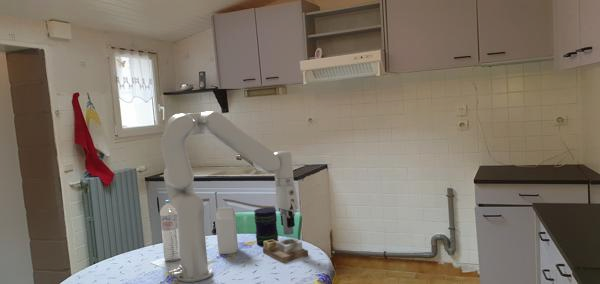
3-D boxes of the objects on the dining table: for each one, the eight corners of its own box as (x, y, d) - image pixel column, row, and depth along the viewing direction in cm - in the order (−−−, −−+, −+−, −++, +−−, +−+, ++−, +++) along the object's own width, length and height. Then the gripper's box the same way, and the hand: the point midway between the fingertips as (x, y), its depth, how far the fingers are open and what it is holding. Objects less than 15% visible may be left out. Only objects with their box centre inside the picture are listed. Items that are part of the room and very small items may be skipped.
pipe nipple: (286, 235, 177) (284, 211, 176) (281, 233, 180) (279, 209, 180) (296, 233, 179) (294, 209, 178) (290, 230, 183) (288, 207, 182)
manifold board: (282, 262, 170) (281, 250, 170) (263, 252, 184) (262, 241, 184) (308, 255, 177) (307, 243, 176) (287, 246, 190) (286, 235, 190)
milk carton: (235, 253, 186) (231, 209, 184) (218, 254, 186) (214, 210, 185) (238, 247, 193) (234, 205, 192) (222, 248, 193) (218, 206, 192)
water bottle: (160, 261, 182) (155, 202, 180) (172, 255, 188) (167, 198, 186) (173, 263, 179) (167, 202, 177) (184, 257, 185) (179, 198, 183)
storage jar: (253, 242, 200) (250, 209, 199) (273, 238, 204) (271, 206, 203) (261, 247, 191) (258, 214, 190) (281, 243, 195) (279, 210, 194)
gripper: (303, 182, 173) (307, 227, 174) (282, 178, 187) (285, 220, 189) (287, 185, 169) (290, 232, 170) (266, 180, 183) (270, 224, 185)
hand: (288, 225), depth 179 cm, fingers closed on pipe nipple, 4 cm apart
